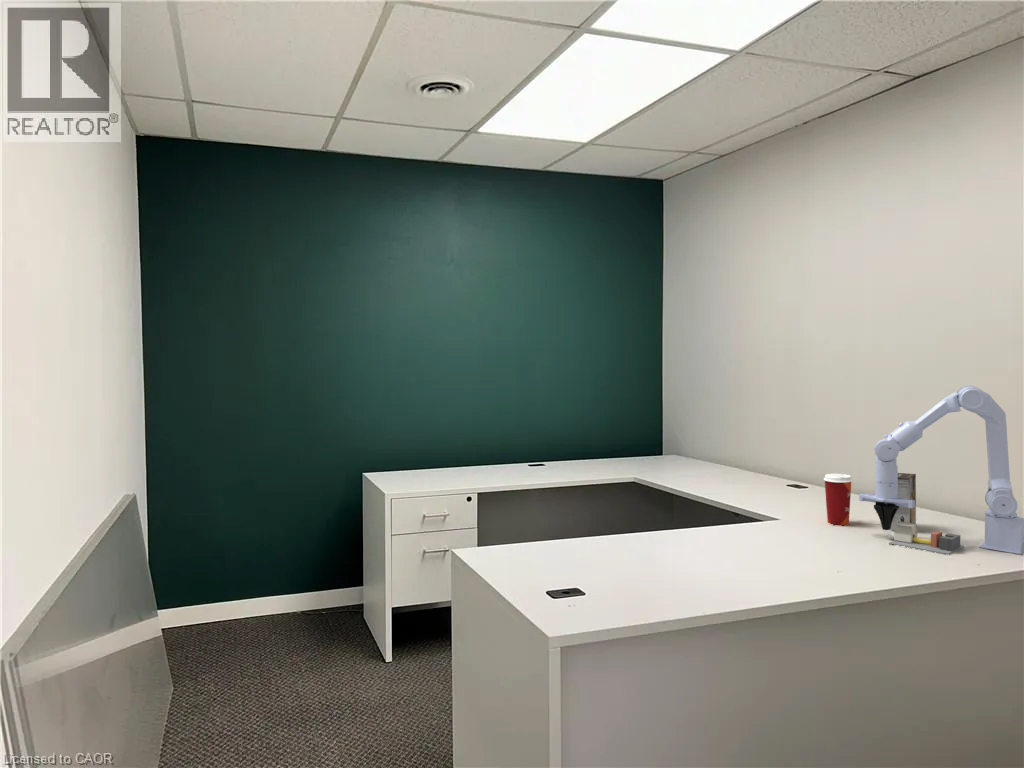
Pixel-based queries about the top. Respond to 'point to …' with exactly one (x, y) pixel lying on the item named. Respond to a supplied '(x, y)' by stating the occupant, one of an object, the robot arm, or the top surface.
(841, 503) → the coffee cup
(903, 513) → the coffee box
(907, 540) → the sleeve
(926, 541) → the yellow thin rod
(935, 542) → the orange thin flat block
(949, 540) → the dark grey hollow block
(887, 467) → the robot arm
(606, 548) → the top surface
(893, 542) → the mat
